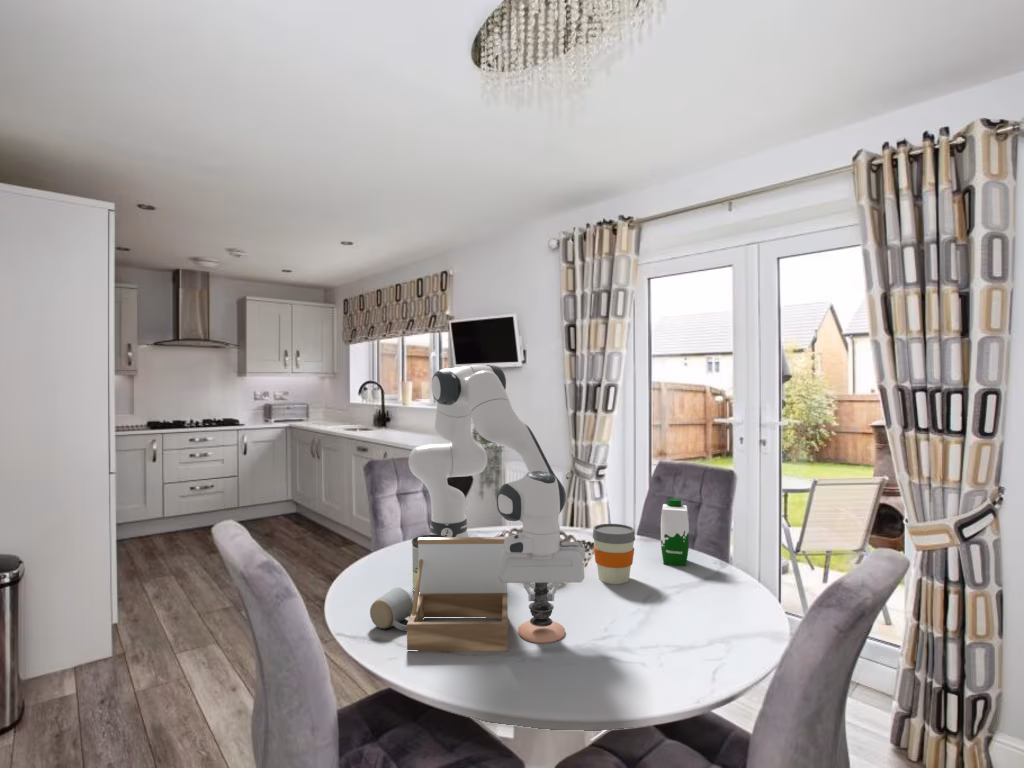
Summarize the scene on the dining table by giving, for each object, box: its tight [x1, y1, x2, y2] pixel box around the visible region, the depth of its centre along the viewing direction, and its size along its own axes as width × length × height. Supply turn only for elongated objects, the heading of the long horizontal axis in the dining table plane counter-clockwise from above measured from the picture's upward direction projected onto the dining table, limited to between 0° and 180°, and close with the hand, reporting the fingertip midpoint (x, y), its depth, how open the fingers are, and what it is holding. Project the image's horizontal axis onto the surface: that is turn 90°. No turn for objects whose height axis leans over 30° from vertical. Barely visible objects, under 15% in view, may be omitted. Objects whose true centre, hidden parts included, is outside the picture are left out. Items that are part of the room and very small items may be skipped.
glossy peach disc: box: [517, 620, 566, 644], centre depth 129 cm, size 11×11×1 cm
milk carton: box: [660, 497, 690, 567], centre depth 180 cm, size 9×9×20 cm
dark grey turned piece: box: [528, 583, 554, 627], centre depth 129 cm, size 6×6×12 cm
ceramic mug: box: [369, 587, 413, 631], centre depth 133 cm, size 11×8×8 cm
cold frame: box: [406, 592, 509, 652], centre depth 129 cm, size 18×22×6 cm
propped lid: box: [411, 536, 508, 616], centre depth 132 cm, size 14×22×15 cm, turn 91°
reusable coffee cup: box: [592, 523, 636, 585], centre depth 165 cm, size 13×13×15 cm
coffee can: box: [411, 534, 446, 592], centre depth 157 cm, size 10×10×14 cm
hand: (541, 600), depth 129 cm, fingers closed on dark grey turned piece, 3 cm apart
